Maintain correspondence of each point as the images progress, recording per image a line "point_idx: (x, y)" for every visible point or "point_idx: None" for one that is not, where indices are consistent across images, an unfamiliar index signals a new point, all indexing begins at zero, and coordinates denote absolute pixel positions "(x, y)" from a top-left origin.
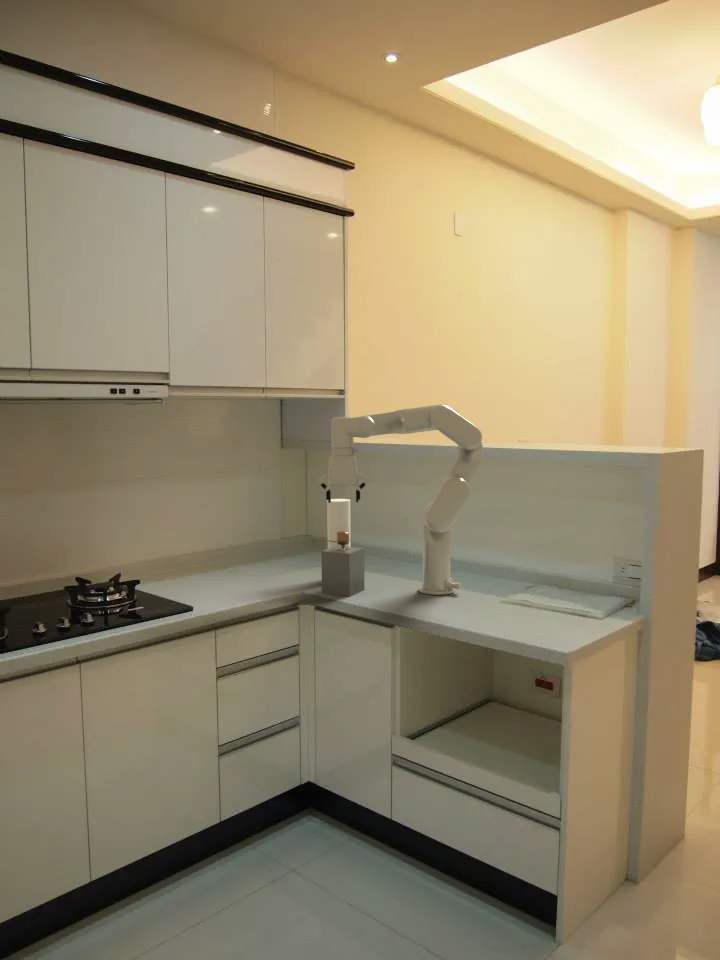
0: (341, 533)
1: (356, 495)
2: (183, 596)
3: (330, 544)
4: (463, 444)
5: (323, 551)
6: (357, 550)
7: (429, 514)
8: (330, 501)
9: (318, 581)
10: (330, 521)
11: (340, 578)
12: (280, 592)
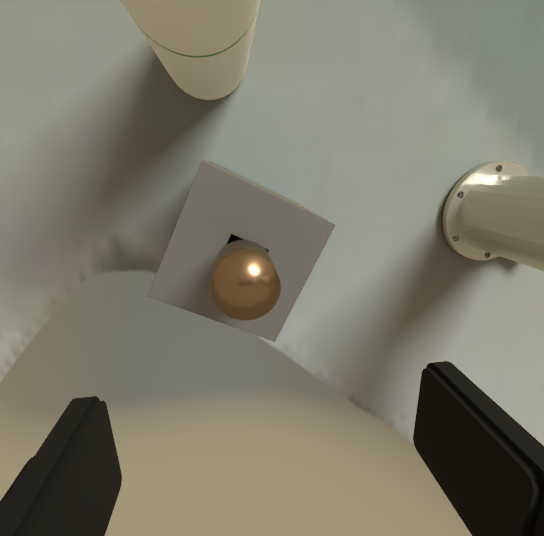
0: (240, 319)
1: (466, 516)
2: None
3: (149, 40)
4: None
5: (158, 299)
6: (305, 274)
7: None
8: (113, 447)
9: (132, 83)
10: None
11: None
12: (44, 247)
